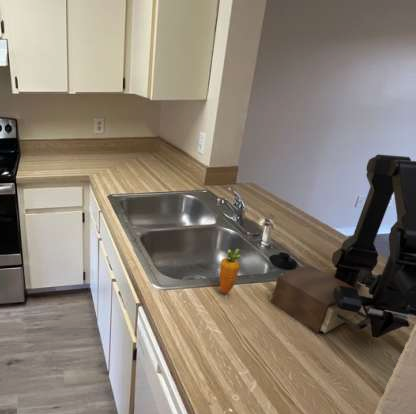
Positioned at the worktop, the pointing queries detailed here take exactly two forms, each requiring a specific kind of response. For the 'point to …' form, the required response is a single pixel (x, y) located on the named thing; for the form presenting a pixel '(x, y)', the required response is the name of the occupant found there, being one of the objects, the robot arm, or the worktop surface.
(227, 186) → the worktop surface
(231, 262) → the carrot
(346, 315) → the drawer
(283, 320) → the worktop surface
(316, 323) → the cabinet
